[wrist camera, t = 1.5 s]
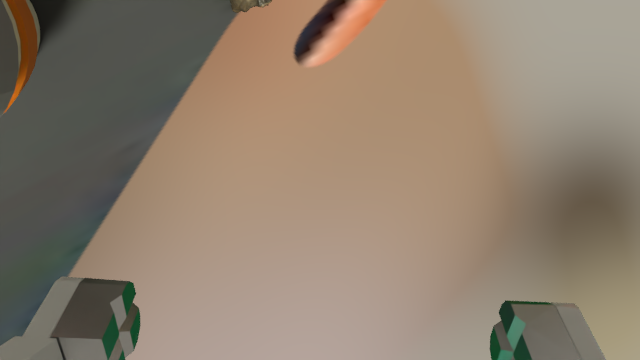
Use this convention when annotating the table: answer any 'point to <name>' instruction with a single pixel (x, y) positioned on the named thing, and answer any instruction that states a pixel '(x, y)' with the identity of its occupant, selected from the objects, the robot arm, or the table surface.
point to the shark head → (247, 4)
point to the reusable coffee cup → (16, 48)
